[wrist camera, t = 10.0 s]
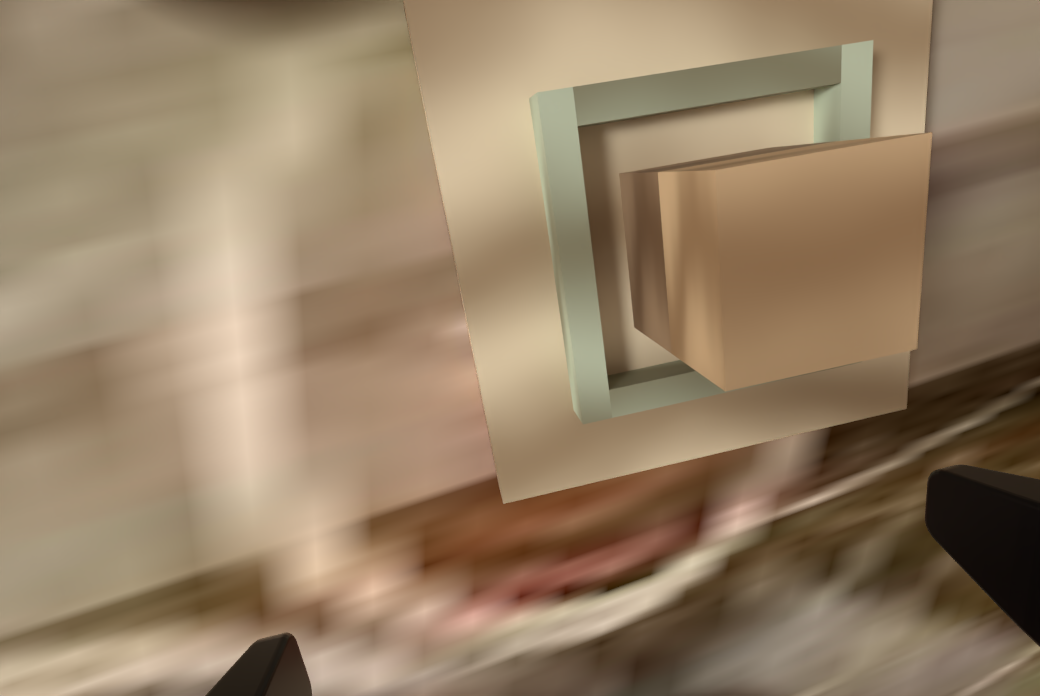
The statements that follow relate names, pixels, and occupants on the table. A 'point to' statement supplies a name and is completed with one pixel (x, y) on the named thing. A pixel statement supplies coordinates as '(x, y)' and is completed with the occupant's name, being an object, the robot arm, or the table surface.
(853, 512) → the table surface
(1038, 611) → the robot arm
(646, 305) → the block
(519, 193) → the board
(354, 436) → the table surface
